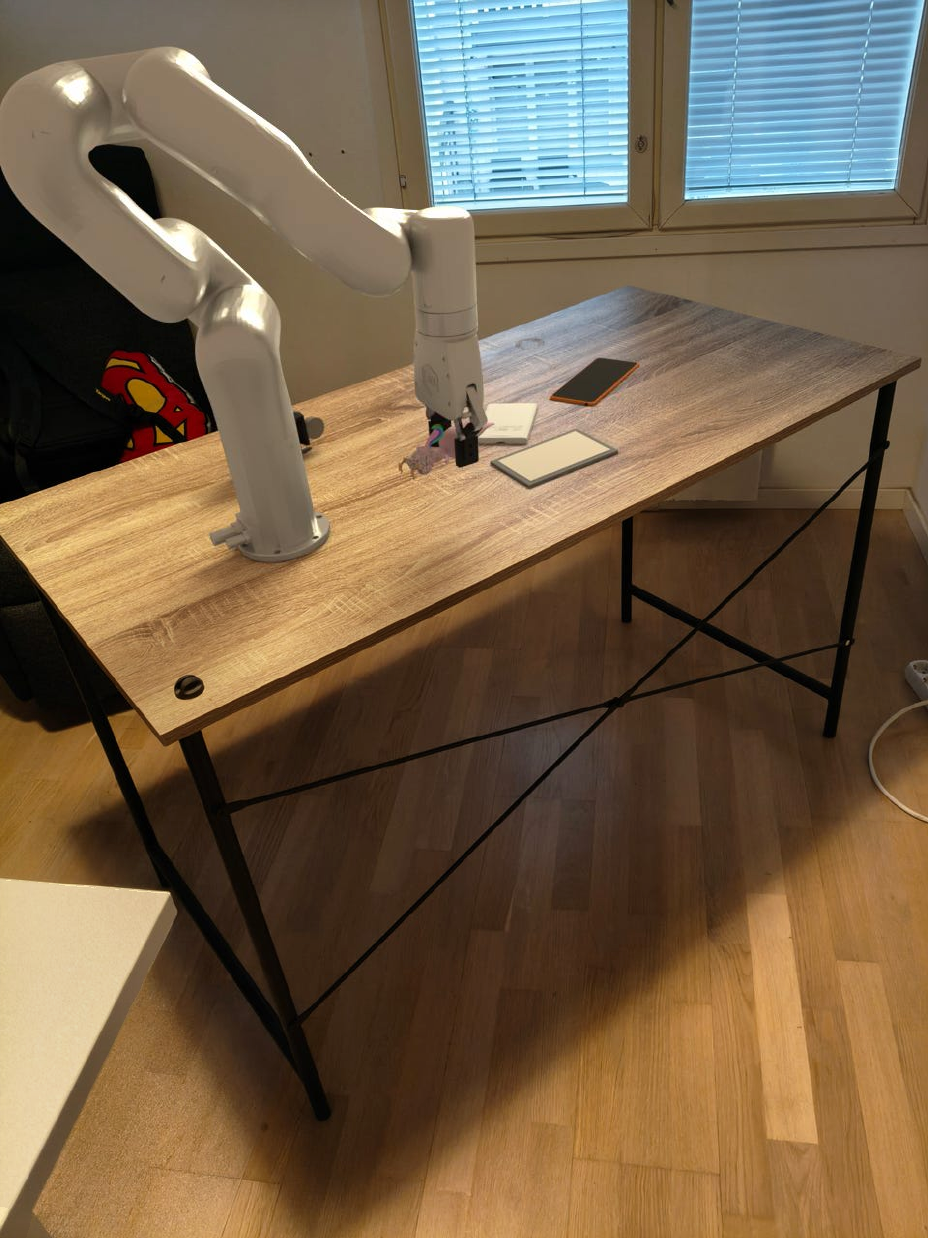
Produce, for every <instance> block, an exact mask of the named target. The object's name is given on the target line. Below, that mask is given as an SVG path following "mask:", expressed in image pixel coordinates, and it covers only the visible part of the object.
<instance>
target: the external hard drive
mask: <svg viewBox="0 0 928 1238" xmlns="http://www.w3.org/2000/svg"><path fill="white" fill-rule="evenodd" d="M538 410H539V406H538V403H534V402H530V403H529V402H526V403H525V402H523V403H518V402H516V403H515V402H513V403H507V402H506V403H489V404H488V405H487V407H486V409H485V414H486V416H487V418H488V422H490V423H494V425H492V426H490V427H489V428H488V429H486V430H485V432H484V433H483V434H481V435H480V436H479V437H478V444H528V441H529V439H530V435H531V431H532V430H533V425H534V423H535V420H536V415H537V412H538ZM488 422H487V423H488Z"/></svg>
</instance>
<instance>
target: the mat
mask: <svg viewBox="0 0 928 1238" xmlns="http://www.w3.org/2000/svg"><path fill="white" fill-rule="evenodd" d="M615 454H619V449H617V448H615V447H613V446H611V445H609V444H607V443H606V442H603V441H601V440H600V439H598V438H596V437H594V436H592V435H590V434H589V433H587V432H585V431H582V430H581V429H579V428H573V429H571V430H569V431H566V432H564V433H561V434H558V435H556V436H552V437H550V438H548V439H545V440H543V441H539V442H537V443H535V444H532V445H530V446H526V447H524V448H521V449H518V450H516V451H514V452H511V453H509V454H506V455H503V456H501V457H497V458H495V459H492V460H490V461H489V462H490V464H491V466H494V467H495V468H497V469H498V470H500V471H502V472H503V473H505V474H507V475H508V476H510V477H511V478H513V479H514V480H515V481H517V482H518V483H520V484H522V485H523V486H526V487H527V488H529V489H530V488H533V487H535V486H538V485H541V484H543V483H545V482H547V481H550V480H553V479H555V478H558V477H560V476H562V475H565V474H568V473H569V472H573V471H575V470H578V469H580V468H582V467H583V468H584V467H587V465H590V464H593V463H595V462H598V461H600V460H603V459H605V458H607V457H610V456H613V455H615Z"/></svg>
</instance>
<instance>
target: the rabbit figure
mask: <svg viewBox="0 0 928 1238" xmlns="http://www.w3.org/2000/svg"><path fill="white" fill-rule="evenodd" d="M467 423H470V421H469V417H467V418H465V420H462V424H463V428H464V427H465V426H466V424H467ZM492 425H494V423H490V422H488V423H486V424H485V425H484V426H483V427H482V429H481V431H480V435H481V434H483V433H484V432H485V430H486V429H488V428H489V427H490V426H492ZM431 429H434V431H433V432H432V434H431V435H430V436H429V435H428V438H427V440H426V442H425V445H418V446H416V449H415V451H413V453H412V454H411V455H410V456H409V457H404V458H403V459H402V461H401V462H399V461H398V462H397V463H398V472H400V475H402V474H403V473H404V470H403V465H404V464H406V465H407V467H408V468H409V470H410V476H409V478H411V477H412V478H413V479H412V481H415V480H416V476H415V472H416V471H417V472H418V474H420V475H421V476H425V475H426V476H427V475H428V474H430V473H431V471H432V470H433V467H434V465H435V464H437V463H440V462H441V461H442V460H443V459H444V464H446V465H447V464H449V463H450V458H451V459H453V460H455V442H454V439H455V438H458V437H457V433H456V429H455V425H452V427H450V428H448V429H447V430H446V431H445V432H444V433H443V428H442V426H441V425H440V424H436V425H434V426H433V427H432V428H431ZM480 435H478V437H479V436H480ZM437 441H439V447H430V446H431V445H432V444H433V443H435V442H437Z"/></svg>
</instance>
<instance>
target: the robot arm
mask: <svg viewBox="0 0 928 1238" xmlns="http://www.w3.org/2000/svg"><path fill="white" fill-rule="evenodd" d="M142 139H147V140H148V141H150V142H151V143H152V144H153V145H155V146H157V147H158V148H159V149H161V150H163V151H164V152H166V153H167V154H169V156H171V157H173V158H174V159H176V161H179V162H180V163H182V164H184V165H185V166H186V167H188V168H189V169H190V170H192V171H193V172H195V173H197V174H198V175H199V176H201V177H202V178H204V179H206V180H207V181H209V182H210V183H211V184H212V185H215V187H217V188H219V189H220V190H222V191H223V192H225V193H226V194H227V195H229V196H231V197H233V199H235V200H236V201H237V202H239V203H241V204H242V205H243V206H245V207H247V209H249V210H250V212H252V213H253V214H254V215H255V216H256V217H257V218H258V219H259V220H260V221H261V222H262V223H263V224H265V225H266V226H267V227H269V228H270V229H271V230H272V231H273V232H275V233H276V234H277V235H278V236H279V237H280V238H281V239H283V240H284V241H285V242H286V243H287V244H289V245H290V246H291V247H292V248H293V249H294V250H296V252H298V253H299V254H300V255H302V256H304V257H305V258H306V259H307V260H309V261H310V262H312V263H313V264H315V266H317V267H318V268H320V269H321V270H323V271H324V272H326V273H328V274H329V275H331V276H332V277H333V278H335V279H337V280H338V281H339V282H341V283H343V284H344V285H346V286H347V287H349V288H350V289H352V290H353V291H355V292H357V293H359V294H362V295H364V296H368V297H372V298H384V297H389V296H392V295H393V294H395V293H397V292H399V290H401V289H402V288H403V287H404V285H405V284H407V283H406V282H407V281H408V279H409V277H410V275H411V279H412V294H413V295H412V296H413V306H414V319H415V330H414V340H413V376H414V377H413V378H414V380H413V381H414V383H413V384H414V393H415V397H416V399H417V400H418V401H419V402H420V403H422V404H423V405H424V406H425V417H426V420H428V421H427V423H428V437H429V436H430V435H431V434H432V432H433V431H434V429H431V428H432V427H433V426H434V425H436V424H440V425H441V426H442V428H443V433H444V432H445V431H446V430H447V429H448V428H450V427H452V426H455V429H456V433H457V437H458V438H455V439H454V442H455V459H454V461H455V466H456V467H457V468H459V469H460V468H461V469H462V468H464V467H467V466H470V465H473V464H476V463H478V462H479V461H480V459H479V458H480V457H479V456H480V455H479V453H480V452H479V443H478V435H480V431H481V429H482V427H483V426H484V425H485V424H486V423H487V422H488V418H487V416H486V414H485V412H486V410H485V409H484V405H485V404H484V403H485V400H484V397H485V393H484V391H485V390H484V379H483V377H484V375H483V365H482V358H481V351H480V344H479V339H478V335H477V333H478V330H479V324H478V321H479V320H478V319H479V318H478V299H477V297H478V296H477V272H476V271H477V270H476V268H477V267H476V243H475V242H476V241H475V224H474V219H473V216H472V215H471V213H470V212H469V211H467V210H466V209H464V208H461V207H457V206H450V205H449V206H447V205H446V206H442V205H441V206H440V205H439V206H432V207H427V208H423V209H419V210H418V209H417V210H416V209H402V208H401V209H400V208H390V207H367V208H364V209H360V208H358V207H357V206H355V205H354V204H353V203H351V202H350V200H347V198H345V197H344V196H343V195H341V194H340V193H339V192H338V191H336V190H335V189H334V188H333V187H332V186H331V185H330V184H328V183H327V182H326V181H325V180H324V178H323V177H321V176H320V175H319V173H318V172H317V171H316V170H315V169H314V168H313V166H312V165H311V164H310V163H309V161H308V160H307V159H306V157H305V155H304V154H303V153H302V151H301V150H300V149H299V147H298V146H297V145H296V144H295V143H294V142H293V140H291V139H290V137H289V136H287V135H286V134H285V133H283V132H282V131H281V130H279V128H277V127H276V126H274V125H272V124H271V123H270V122H268V121H267V120H266V119H264V118H263V117H262V116H261V115H260V116H259V114H257V113H255V112H254V111H253V110H251V109H250V108H249V107H247V105H244V104H243V103H241V102H240V101H239V100H238V99H236V98H235V97H234V96H232V95H231V94H229V93H228V92H226V91H225V90H224V89H223V88H222V87H220V86H218V84H216V83H214V82H213V81H212V78H211V76H210V74H209V73H208V70H207V69H206V67H205V66H204V65H203V64H202V63H201V61H200V60H199V59H198V58H197V57H195V55H194V54H191V53H189V52H188V51H187V50H184V49H183V48H179V47H176V46H175V47H174V46H159V47H154V48H153V47H152V48H147V49H143V50H137V51H136V50H135V51H130V52H124V53H117V54H108V55H101V56H95V57H94V56H93V57H89V58H88V57H87V58H80V59H71V60H64V61H58V62H55V63H52V64H49V65H46V66H44V67H41V68H39V69H37V70H35V71H34V70H33V71H32V72H30V73H28V74H26V75H24V76H22V77H21V78H19V79H18V80H17V81H15V82H13V84H12V85H11V86H10V88H8V90H7V92H6V93H5V94H4V97H3V98H2V101H1V102H0V168H1V171H2V174H3V176H4V179H5V180H6V182H7V184H8V186H9V188H10V189H11V191H12V192H13V194H14V195H15V197H16V198H17V199H18V201H19V202H20V203H21V205H22V206H24V208H25V209H26V210H27V211H28V212H29V213H30V214H31V215H32V216H33V217H34V218H35V219H36V220H37V221H38V222H39V223H40V224H42V225H43V226H44V227H45V228H46V229H48V230H49V231H50V232H51V233H52V234H54V235H55V236H56V237H57V238H58V239H60V240H61V242H63V243H64V244H65V245H66V246H67V247H69V248H70V249H71V250H72V251H73V252H74V253H75V254H77V255H78V256H79V257H80V258H81V259H82V260H83V261H84V262H85V263H86V264H87V265H88V266H90V268H92V270H94V271H95V272H96V273H98V274H99V275H100V276H101V277H102V278H103V279H105V280H106V281H107V283H109V284H110V285H111V286H112V287H113V288H114V289H116V290H117V291H118V292H119V293H120V294H121V295H122V296H124V297H125V298H126V299H127V300H128V301H129V302H130V303H132V305H134V306H135V307H136V308H137V309H138V310H140V311H141V312H142V313H143V314H145V315H146V316H148V317H150V318H151V319H152V320H156V321H158V322H161V323H166V324H167V323H168V324H172V323H179V322H181V321H184V320H186V319H188V320H189V321H190V322H192V323H193V324H194V325H195V326H197V328H198V330H197V333H196V338H195V348H194V349H195V351H194V352H195V362H196V367H197V370H198V371H197V372H198V374H199V378H200V381H201V382H202V385H203V389H204V391H205V393H206V395H207V399H208V401H209V403H210V407H211V409H212V413H213V417H214V420H215V422H216V423H215V424H216V427H217V430H218V434H219V437H220V442H221V444H222V447H223V452H224V456H225V459H226V462H227V465H228V470H229V473H230V477H231V481H232V484H233V489H234V491H235V496H236V501H237V503H238V507H239V510H240V511H237V512H235V513H234V516H235V520H234V521H232V522H230V525H229V526H226V527H223V528H219V529H216V530H213V531H211V532H210V531H209V533H208V536H209V539H210V541H211V543H212V545H213V546H214V547H217V546H220V545H223V544H225V545H226V547H227V549H228V550H231V549H234V548H237V547H238V550H239V552H240V554H242V555H243V556H244V557H247V558H248V559H251V560H254V561H258V562H264V563H265V562H267V563H268V562H270V563H271V562H272V563H274V562H284V561H289V560H293V559H298V558H301V557H302V556H305V555H308V554H310V553H311V552H313V551H315V550H316V549H318V548H319V547H320V546H322V545H323V544H324V543H325V541H327V539H328V537H329V536H330V532H331V528H330V522H329V519H328V517H327V515H324V513H322V512H320V511H318V510H315V507H314V503H313V497H312V495H311V489H310V485H309V480H308V475H307V472H306V471H307V470H306V466H305V462H304V456H303V453H302V452H301V449H302V448H301V447H302V446H301V447H300V445H301V444H300V442H299V438H298V433H297V429H296V424H295V420H294V415H293V407H292V403H291V398H290V394H289V391H288V387H287V384H286V380H285V377H284V371H283V368H282V362H281V355H280V354H281V353H280V346H281V345H280V344H281V332H282V321H281V315H280V311H279V309H278V307H277V305H276V303H275V301H274V300H273V298H272V297H271V296H270V294H268V292H267V291H266V290H265V289H264V288H263V287H262V286H261V285H260V284H259V283H258V282H257V281H256V280H255V279H253V277H252V276H251V275H249V273H248V272H247V271H245V270H244V268H242V267H241V266H240V265H239V264H238V263H237V262H236V261H235V260H234V259H233V258H232V257H230V255H228V253H227V252H225V251H224V250H223V249H222V248H221V247H220V246H219V245H218V244H217V243H216V242H215V241H214V240H213V239H211V237H209V236H208V235H207V234H206V233H205V232H203V231H202V230H201V229H199V228H198V227H196V226H195V225H193V224H191V223H189V222H188V221H185V220H182V219H180V218H175V217H174V218H173V217H162V218H157V219H153V218H152V217H151V216H150V215H149V214H148V213H146V212H145V211H144V210H143V209H142V208H141V207H139V205H138V204H136V202H135V201H133V199H132V198H130V196H129V195H128V194H127V193H126V192H124V191H123V190H122V189H121V188H119V186H118V185H116V184H115V183H113V182H112V181H110V180H108V179H107V178H106V177H104V176H103V175H102V174H101V173H99V172H98V171H97V170H96V169H95V168H94V167H93V165H92V163H91V162H90V159H89V152H90V151H92V150H93V149H94V148H95V147H97V146H102V145H108V144H109V145H110V144H115V143H123V142H129V141H130V142H131V141H135V140H142ZM465 408H467V411H465ZM468 418H469V421H470V423H467V424H466V426H465V427H464V428H463V424H462V421H463V419H468ZM452 421H453V424H454V425H453V424H452ZM430 447H439V441H437V442H435V443H433V444H432V445H431V446H430Z"/></svg>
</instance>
